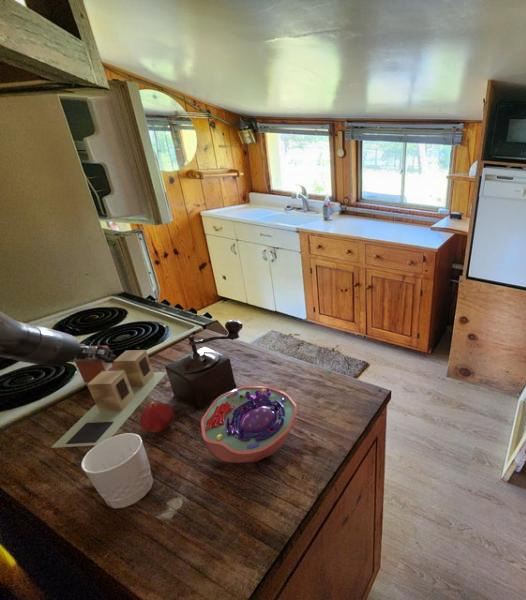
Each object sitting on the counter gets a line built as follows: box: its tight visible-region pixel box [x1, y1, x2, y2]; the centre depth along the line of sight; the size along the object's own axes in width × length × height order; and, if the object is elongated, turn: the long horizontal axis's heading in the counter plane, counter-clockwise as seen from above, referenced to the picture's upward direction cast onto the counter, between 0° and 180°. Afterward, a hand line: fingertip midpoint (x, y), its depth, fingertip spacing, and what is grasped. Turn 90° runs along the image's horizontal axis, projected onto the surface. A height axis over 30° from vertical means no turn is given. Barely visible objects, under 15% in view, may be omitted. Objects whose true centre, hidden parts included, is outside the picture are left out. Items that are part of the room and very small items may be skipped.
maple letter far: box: [113, 349, 155, 387], centre depth 83 cm, size 5×5×8 cm
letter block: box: [74, 345, 117, 384], centre depth 83 cm, size 5×5×8 cm
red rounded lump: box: [139, 401, 175, 433], centre depth 69 cm, size 6×6×8 cm
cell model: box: [200, 385, 298, 464], centre depth 67 cm, size 17×20×11 cm
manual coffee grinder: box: [164, 319, 243, 411], centre depth 81 cm, size 16×11×18 cm
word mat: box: [50, 371, 167, 449], centre depth 77 cm, size 10×24×1 cm, turn 6°
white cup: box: [80, 432, 155, 509], centre depth 57 cm, size 8×8×10 cm
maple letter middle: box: [86, 370, 135, 412], centre depth 75 cm, size 5×5×8 cm
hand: (101, 359), depth 85 cm, fingers closed on letter block, 5 cm apart
